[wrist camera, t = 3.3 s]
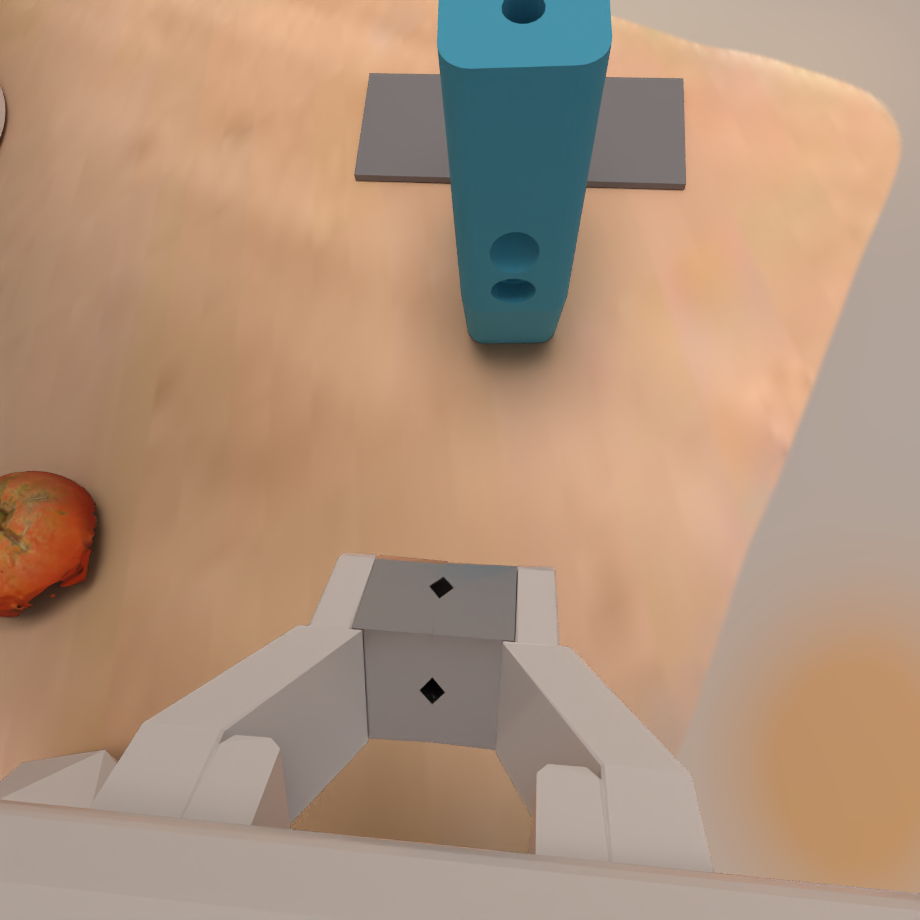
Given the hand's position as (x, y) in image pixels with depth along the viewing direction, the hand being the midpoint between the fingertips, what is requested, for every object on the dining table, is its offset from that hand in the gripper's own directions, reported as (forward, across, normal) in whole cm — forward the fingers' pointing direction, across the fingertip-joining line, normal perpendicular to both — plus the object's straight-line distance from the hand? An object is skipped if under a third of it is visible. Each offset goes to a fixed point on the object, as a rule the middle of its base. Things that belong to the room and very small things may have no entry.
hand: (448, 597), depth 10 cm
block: (+33, 0, +3) cm, 33 cm away
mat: (+40, 0, -5) cm, 41 cm away
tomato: (+21, +24, +15) cm, 35 cm away
